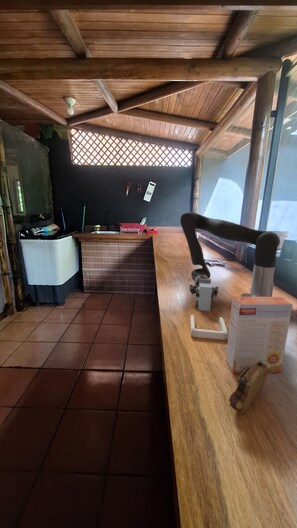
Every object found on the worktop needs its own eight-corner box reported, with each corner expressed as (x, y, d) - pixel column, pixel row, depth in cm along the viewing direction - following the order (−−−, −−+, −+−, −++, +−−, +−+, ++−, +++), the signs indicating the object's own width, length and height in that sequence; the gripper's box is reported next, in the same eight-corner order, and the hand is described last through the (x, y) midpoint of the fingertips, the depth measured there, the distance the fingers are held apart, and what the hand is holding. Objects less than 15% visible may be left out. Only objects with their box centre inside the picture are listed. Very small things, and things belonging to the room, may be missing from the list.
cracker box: (269, 360, 72) (281, 295, 66) (281, 373, 66) (294, 304, 61) (224, 359, 71) (232, 295, 66) (231, 373, 65) (240, 304, 60)
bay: (222, 323, 93) (222, 317, 92) (227, 340, 82) (227, 333, 81) (190, 320, 95) (190, 314, 94) (190, 336, 83) (191, 330, 83)
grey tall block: (209, 304, 110) (212, 279, 107) (211, 311, 104) (213, 284, 100) (196, 303, 111) (198, 278, 108) (196, 310, 104) (199, 283, 101)
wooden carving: (248, 379, 63) (253, 346, 61) (266, 387, 61) (272, 353, 58) (222, 419, 51) (227, 380, 49) (243, 432, 48) (249, 391, 46)
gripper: (188, 275, 120) (189, 286, 103) (217, 277, 118) (222, 289, 101) (187, 289, 121) (188, 302, 105) (216, 291, 119) (221, 305, 103)
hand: (205, 296), depth 103 cm, fingers closed on grey tall block, 5 cm apart
